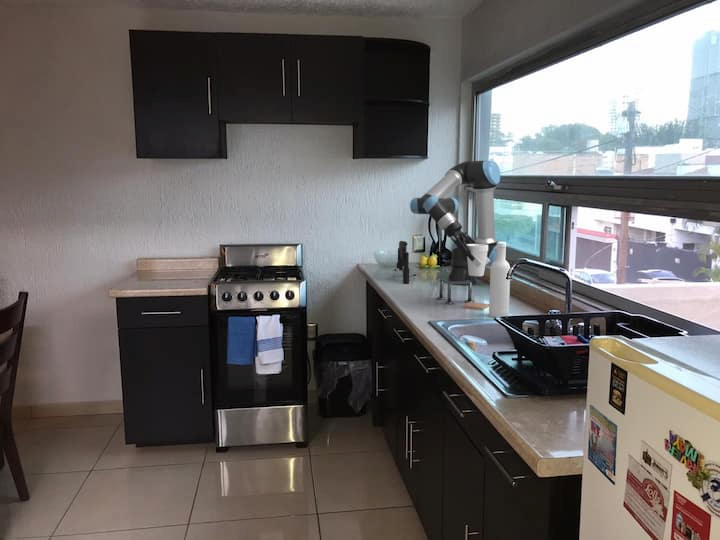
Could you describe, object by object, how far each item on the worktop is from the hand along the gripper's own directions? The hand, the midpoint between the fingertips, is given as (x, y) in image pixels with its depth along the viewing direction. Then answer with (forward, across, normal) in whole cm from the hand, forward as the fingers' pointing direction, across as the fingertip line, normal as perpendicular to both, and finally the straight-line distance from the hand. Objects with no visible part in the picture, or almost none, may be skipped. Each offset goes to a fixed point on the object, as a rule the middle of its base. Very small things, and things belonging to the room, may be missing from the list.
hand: (483, 264), depth 249 cm
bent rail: (+2, -5, -25) cm, 25 cm away
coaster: (+11, 0, -15) cm, 19 cm away
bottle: (+21, +11, -6) cm, 25 cm away
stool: (-31, -45, -58) cm, 80 cm away
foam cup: (+1, 0, -6) cm, 6 cm away
